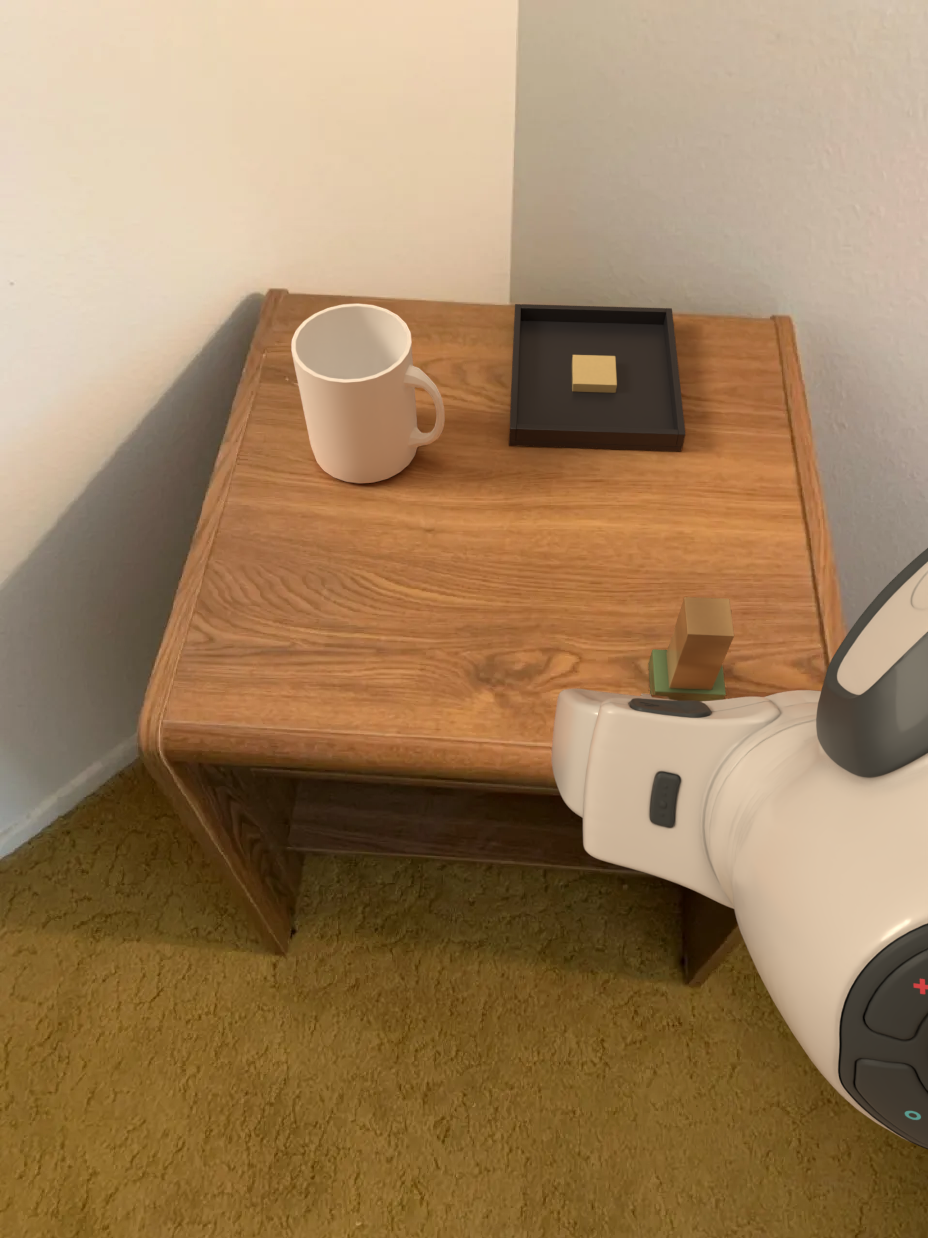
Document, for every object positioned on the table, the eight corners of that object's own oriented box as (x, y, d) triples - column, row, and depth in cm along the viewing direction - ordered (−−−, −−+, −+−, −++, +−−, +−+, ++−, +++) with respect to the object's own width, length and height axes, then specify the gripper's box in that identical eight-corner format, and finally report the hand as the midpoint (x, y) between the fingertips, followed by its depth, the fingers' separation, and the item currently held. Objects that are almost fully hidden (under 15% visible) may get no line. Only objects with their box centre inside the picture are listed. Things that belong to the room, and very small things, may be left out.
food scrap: (614, 364, 87) (615, 355, 86) (615, 393, 85) (617, 384, 84) (571, 362, 87) (572, 354, 86) (572, 391, 85) (573, 383, 84)
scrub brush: (715, 666, 69) (744, 595, 61) (720, 708, 67) (750, 640, 59) (648, 663, 69) (668, 592, 62) (650, 705, 67) (672, 637, 60)
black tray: (668, 325, 91) (672, 307, 89) (681, 451, 81) (685, 434, 80) (514, 321, 92) (514, 303, 90) (508, 445, 82) (509, 428, 80)
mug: (320, 409, 85) (300, 302, 75) (450, 413, 84) (447, 305, 75) (305, 486, 80) (282, 381, 70) (444, 490, 79) (440, 384, 69)
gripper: (1105, 763, 35) (949, 684, 48) (563, 700, 36) (560, 641, 50) (1072, 919, 36) (928, 799, 49) (545, 851, 37) (547, 753, 51)
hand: (740, 719), depth 50 cm, fingers open, 8 cm apart
